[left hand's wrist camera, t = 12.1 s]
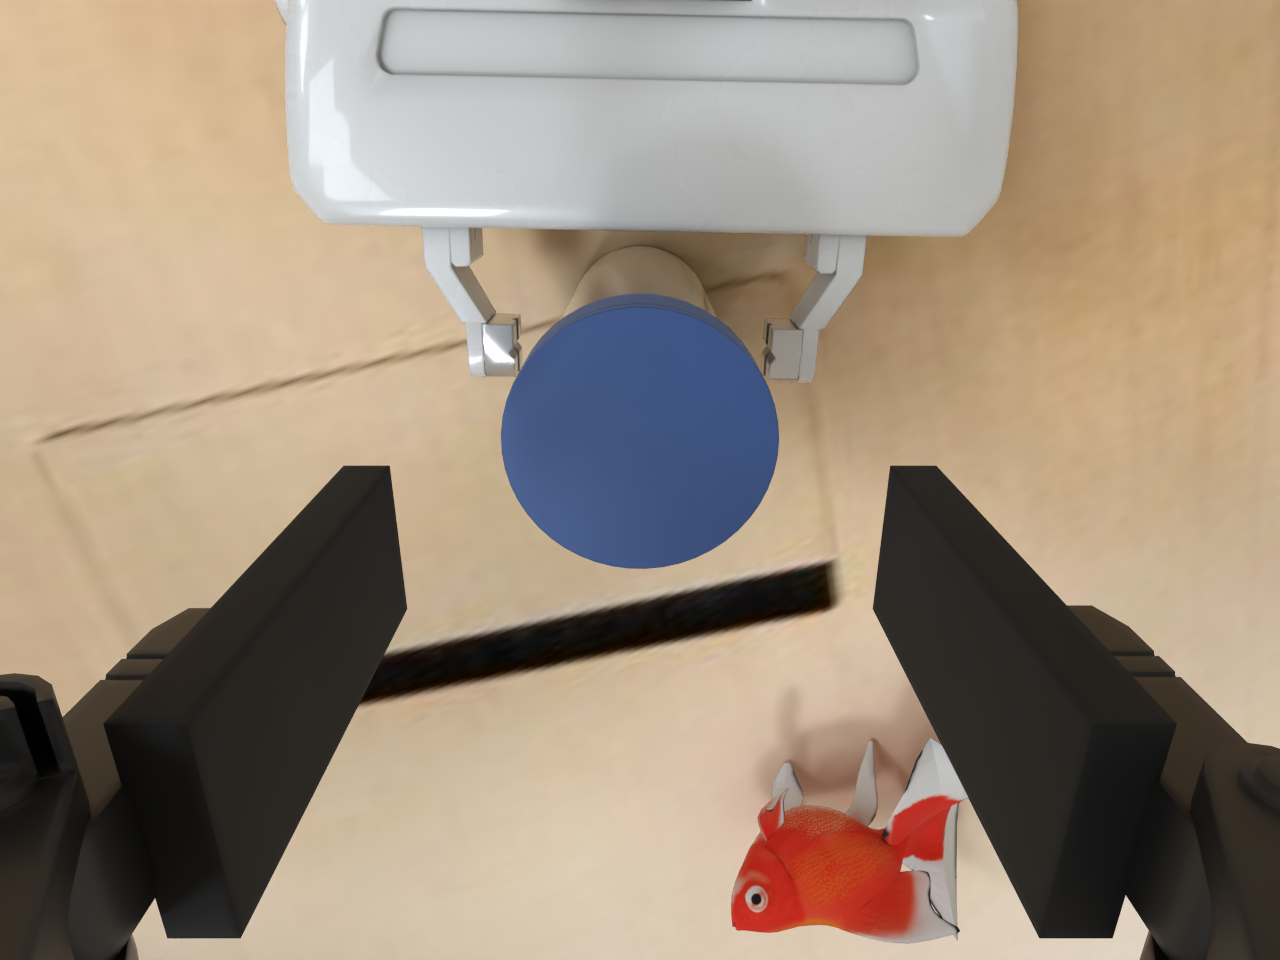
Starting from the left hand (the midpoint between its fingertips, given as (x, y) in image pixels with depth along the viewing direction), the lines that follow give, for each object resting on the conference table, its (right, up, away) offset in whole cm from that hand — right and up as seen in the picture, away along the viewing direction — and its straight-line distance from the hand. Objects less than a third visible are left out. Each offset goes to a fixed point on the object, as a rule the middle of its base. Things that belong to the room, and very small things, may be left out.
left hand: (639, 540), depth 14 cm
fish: (+11, -13, +27) cm, 32 cm away
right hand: (0, +4, +13) cm, 14 cm away
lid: (0, +2, +5) cm, 5 cm away
